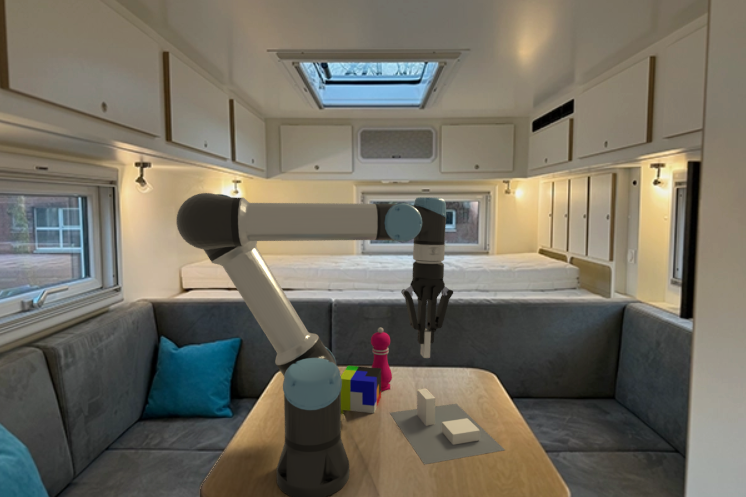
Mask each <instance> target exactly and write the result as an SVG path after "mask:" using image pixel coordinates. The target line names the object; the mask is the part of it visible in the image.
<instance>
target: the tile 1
mask: <svg viewBox="0 0 746 497" xmlns="http://www.w3.org/2000/svg"><path fill="white" fill-rule="evenodd" d="M416 394H417V395H416V398H417V399H416V409H417V415H418V416H419V418H420V419H421V420H422V421H423V423H424V424H425V425H426V426H427V425H433V424H435V406H436V397H435V396H434V395H433V394H432V393H431V392H430V391H429V390H428V389H427V388H418V389H417V391H416Z"/></svg>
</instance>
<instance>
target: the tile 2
mask: <svg viewBox="0 0 746 497" xmlns="http://www.w3.org/2000/svg"><path fill="white" fill-rule="evenodd" d="M442 433H443V434H444V435H445V436H446V437H447V438H448V440H449V441H450V442H451V443H452V444H453V445H454V444H460V443H467V442H473V441H479V440H480V430H479V429H478V428H477V427H476V426H475V425H474V424H473V423H472V422H471V421H470V420H469V419H468V418H466V419H459V420H452V421H445V422H442Z"/></svg>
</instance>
